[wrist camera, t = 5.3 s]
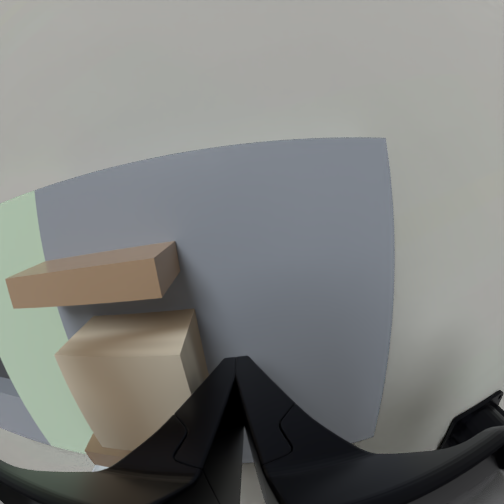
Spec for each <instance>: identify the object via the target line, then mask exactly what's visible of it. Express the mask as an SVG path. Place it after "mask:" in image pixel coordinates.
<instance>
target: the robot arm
mask: <svg viewBox="0 0 504 504" xmlns="http://www.w3.org/2000/svg"><path fill="white" fill-rule="evenodd" d="M502 396H503V392H502V391H501V390H499V391H498V392H496V393H495V394H494V395H492V396H491V397H489V398H488V399H486V400H484V401H483V402H481V403H480V404H478V405H476V406H475V407H473V408H472V409H470V410H468V411H466V412H465V413H463V414H461V415H459V416H458V417H456V418H455V419H454V420H453V422H452V424H451V426H450V428H449V430H448V433H447V435H446V437H445V439H444V441H443V443H442V445H441V447H440V449H439V450H434V451H425V452H413V453H398V454H374V453H370V452H367V451H364V450H362V449H360V448H358V447H356V446H355V445H353V444H351V443H350V442H348V441H346V440H345V439H343V438H342V437H340V436H338V435H337V434H335V433H334V432H332V431H330V430H329V429H327V428H326V427H324V426H323V425H321V424H320V423H319V422H317V421H316V420H314V419H313V418H312V417H311V416H310V415H308V414H307V413H306V412H305V411H304V410H303V409H302V408H301V407H299V406H298V405H297V404H296V403H295V402H294V401H293V400H292V399H291V398H290V397H289V396H288V395H287V394H286V393H285V392H284V391H283V390H282V389H281V388H280V387H279V386H278V385H277V384H276V383H275V382H274V381H273V380H272V379H271V378H270V377H269V376H268V375H267V374H266V373H265V372H264V371H263V370H262V369H261V368H260V367H259V366H258V365H257V364H256V363H255V362H254V361H253V360H252V359H251V358H250V357H249V356H247V355H246V356H238V357H228V358H224V359H223V360H222V361H221V362H220V363H219V364H218V366H217V367H216V368H215V369H214V370H213V371H212V372H211V374H210V375H209V376H208V377H207V378H206V379H205V380H204V381H203V383H202V384H201V385H200V386H199V387H198V388H197V389H196V390H195V391H194V392H193V394H192V395H191V396H190V397H189V398H188V399H187V400H186V401H185V402H184V403H183V405H182V406H181V407H180V408H179V409H178V410H177V411H176V412H175V413H174V415H172V416H171V417H170V418H169V419H168V420H167V421H166V422H165V423H164V424H163V425H162V426H161V427H160V428H159V429H158V430H157V431H156V432H155V433H154V434H153V435H152V436H150V437H149V438H148V439H147V440H146V441H144V442H143V443H142V444H141V445H139V446H138V447H137V448H136V449H134V450H133V451H132V452H130V453H129V454H128V455H126V456H125V457H124V458H122V459H121V460H120V461H118V462H117V463H116V464H114V465H113V466H111V467H109V468H107V469H104V470H100V471H94V472H48V471H34V470H27V469H22V468H18V467H14V466H12V465H9V464H7V463H5V462H3V461H2V460H0V500H1V501H2V502H3V503H4V504H240V489H241V473H242V456H243V440H244V426H245V430H246V434H247V438H248V442H249V446H250V450H251V453H252V457H253V461H254V465H255V468H256V472H257V475H258V479H259V483H260V486H261V490H262V493H263V496H264V500H265V503H266V504H504V411H503V410H502V409H501V408H500V407H499V406H498V405H499V402H500V400H501V398H502Z"/></svg>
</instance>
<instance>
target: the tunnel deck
mask: <svg viewBox="0 0 504 504" xmlns="http://www.w3.org/2000/svg"><path fill="white" fill-rule="evenodd" d="M393 296H394V218H393V201H392V188H391V178H390V168H389V160H388V152H387V145H386V138H311V139H293V140H279V141H267V142H256V143H246V144H238V145H229V146H222V147H214V148H207V149H201V150H194V151H188V152H182V153H177V154H171V155H166V156H161V157H156V158H151V159H146V160H141V161H137V162H132V163H128V164H124V165H120V166H115V167H111V168H107V169H104V170H100V171H96V172H92V173H89V174H85V175H82V176H78V177H75V178H71V179H68V180H65V181H62V182H59V183H55V184H52V185H49V186H46V187H43V188H40V189H38V190H35V191H32V192H29V193H26V194H24V195H21V196H18V197H16V198H13V199H11V200H8V201H6V202H3V203H1V204H0V428H2V429H5V430H7V431H10V432H12V433H15V434H18V435H20V436H23V437H26V438H29V439H32V440H35V441H38V442H41V443H44V444H48V445H51V446H55V447H58V448H62V449H66V450H70V451H74V452H78V453H83V454H87V455H88V456H89V458H90V459H91V460H92V462H93V463H94V464H95V465H100V466H105V467H111V466H113V465H114V464H116V463H117V462H118V461H120V460H121V459H122V458H124V457H125V456H126V455H128V454H129V453H130V452H132V451H129V450H120V449H113V448H106V447H102V446H101V444H100V443H99V441H98V439H97V438H96V436H95V435H94V433H93V431H92V430H91V428H90V426H89V425H88V423H87V421H86V419H85V418H84V416H83V414H82V412H81V411H80V409H79V407H78V405H77V403H76V401H75V399H74V397H73V395H72V393H71V391H70V389H69V387H68V385H67V383H66V381H65V379H64V377H63V375H62V372H61V370H60V368H59V366H58V363H57V361H56V358H55V356H54V354H55V353H56V352H57V351H58V350H59V349H60V348H61V347H62V346H63V345H64V344H65V343H66V342H67V341H68V340H69V339H70V338H71V337H72V336H73V335H74V334H75V333H76V332H77V331H78V330H80V329H81V328H82V327H83V326H84V325H85V324H86V323H87V322H88V321H89V320H90V319H91V318H92V317H93V316H103V315H120V314H135V313H148V312H161V311H172V310H183V309H194V308H195V313H196V318H197V323H198V328H199V333H200V337H201V342H202V347H203V351H204V356H205V360H206V365H207V369H208V373H209V375H210V374H211V372H212V371H213V370H214V369H215V368H216V367H217V366H218V364H219V363H220V362H221V361H222V360H223V359H224V358H228V357H238V356H246V355H247V356H249V357H250V358H251V359H252V360H253V361H254V362H255V363H256V364H257V365H258V366H259V367H260V368H261V369H262V370H263V371H264V372H265V373H266V374H267V375H268V376H269V377H270V378H271V379H272V380H273V381H274V382H275V383H276V384H277V385H278V386H279V387H280V388H281V389H282V390H283V391H284V392H285V393H286V394H287V395H288V396H289V397H290V398H291V399H292V400H293V401H294V402H295V403H296V404H297V405H298V406H299V407H301V408H302V409H303V410H304V411H305V412H306V413H307V414H308V415H310V416H311V417H312V418H313V419H314V420H316V421H317V422H319V423H320V424H321V425H323V426H324V427H326V428H327V429H329V430H330V431H332V432H334V433H335V434H337V435H338V436H340V437H342V438H343V439H345V440H346V441H348V442H350V443H354V442H358V441H361V440H364V439H367V438H371V437H373V436H374V432H375V428H376V423H377V419H378V414H379V409H380V404H381V399H382V394H383V388H384V382H385V376H386V369H387V362H388V354H389V346H390V336H391V326H392V313H393ZM251 462H254V461H253V457H252V453H251V450H250V446H249V442H248V438H247V434H246V430H245V426H244V440H243V456H242V463H251Z"/></svg>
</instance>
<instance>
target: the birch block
mask: <svg viewBox="0 0 504 504" xmlns="http://www.w3.org/2000/svg"><path fill="white" fill-rule="evenodd" d="M54 356H55V358H56V361H57V363H58V366H59V368H60V370H61V372H62V375H63V377H64V379H65V381H66V383H67V385H68V387H69V389H70V391H71V393H72V395H73V397H74V399H75V401H76V403H77V405H78V407H79V409H80V411H81V412H82V414H83V416H84V418H85V419H86V421H87V423H88V425H89V426H90V428H91V430H92V431H93V433H94V435H95V436H96V438H97V439H98V441H99V443H100V444H101V446H102V447H106V448H113V449H120V450H129V451H133V450H134V449H136V448H137V447H138V446H139V445H141V444H142V443H143V442H144V441H146V440H147V439H148V438H149V437H150V436H152V435H153V434H154V433H155V432H156V431H157V430H158V429H159V428H160V427H161V426H162V425H163V424H164V423H165V422H166V421H167V420H168V419H169V418H170V417H171V416H172V415H174V413H175V412H176V411H177V410H178V409H179V408H180V407H181V406H182V405H183V403H184V402H185V401H186V400H187V399H188V398H189V397H190V396H191V395H192V394H193V392H194V391H195V390H196V389H197V388H198V387H199V386H200V385H201V384H202V383H203V381H204V380H205V379H206V378H207V377H208V376H209V373H208V369H207V365H206V360H205V356H204V351H203V347H202V342H201V337H200V333H199V328H198V323H197V318H196V313H195V308H194V309H183V310H172V311H161V312H148V313H135V314H120V315H103V316H93V317H92V318H91V319H90V320H89V321H88V322H87V323H86V324H85V325H84V326H83V327H82V328H81V329H80V330H78V331H77V332H76V333H75V334H74V335H73V336H72V337H71V338H70V339H69V340H68V341H67V342H66V343H65V344H64V345H63V346H62V347H61V348H60V349H59V350H58V351H57V352H56V353H55V354H54Z"/></svg>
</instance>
